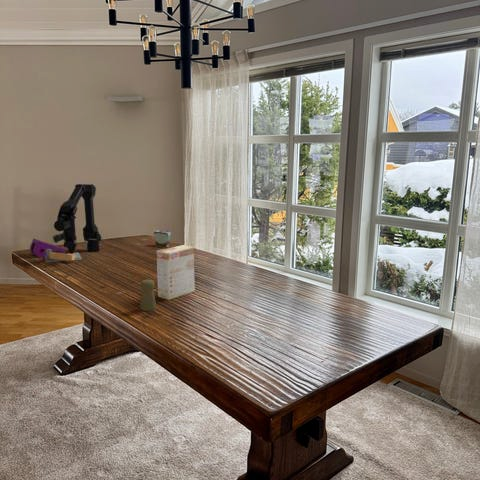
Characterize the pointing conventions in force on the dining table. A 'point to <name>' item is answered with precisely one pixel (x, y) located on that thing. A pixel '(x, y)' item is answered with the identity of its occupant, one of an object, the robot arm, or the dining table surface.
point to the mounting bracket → (43, 248)
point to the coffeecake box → (175, 271)
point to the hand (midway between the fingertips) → (71, 256)
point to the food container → (162, 238)
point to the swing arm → (59, 255)
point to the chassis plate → (77, 257)
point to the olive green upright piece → (147, 295)
